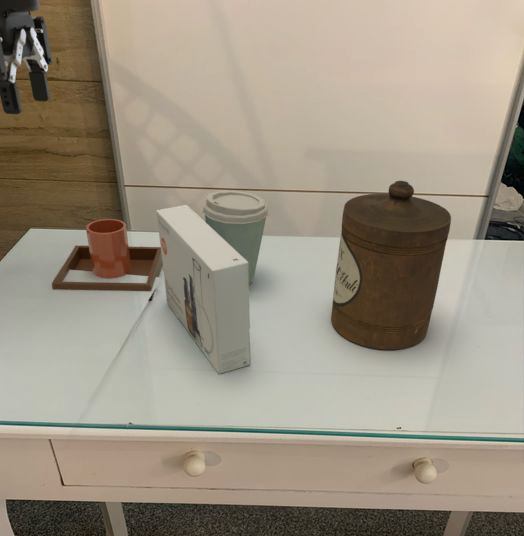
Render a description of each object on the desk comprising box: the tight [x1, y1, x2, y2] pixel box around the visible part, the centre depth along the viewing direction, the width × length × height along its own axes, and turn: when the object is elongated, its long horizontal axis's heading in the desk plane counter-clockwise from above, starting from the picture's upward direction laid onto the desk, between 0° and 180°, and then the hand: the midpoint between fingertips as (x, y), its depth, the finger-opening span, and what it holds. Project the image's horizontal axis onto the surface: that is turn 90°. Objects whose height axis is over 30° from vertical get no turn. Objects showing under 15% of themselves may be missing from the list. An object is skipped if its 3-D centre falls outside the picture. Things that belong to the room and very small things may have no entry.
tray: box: [51, 245, 163, 301], centre depth 95 cm, size 16×15×3 cm
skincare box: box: [155, 204, 252, 375], centre depth 78 cm, size 21×6×16 cm, turn 27°
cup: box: [85, 218, 133, 279], centre depth 93 cm, size 6×6×9 cm
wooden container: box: [330, 180, 452, 350], centre depth 80 cm, size 15×15×22 cm
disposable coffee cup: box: [202, 189, 269, 286], centre depth 92 cm, size 11×11×15 cm
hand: (28, 106), depth 77 cm, fingers open, 8 cm apart
